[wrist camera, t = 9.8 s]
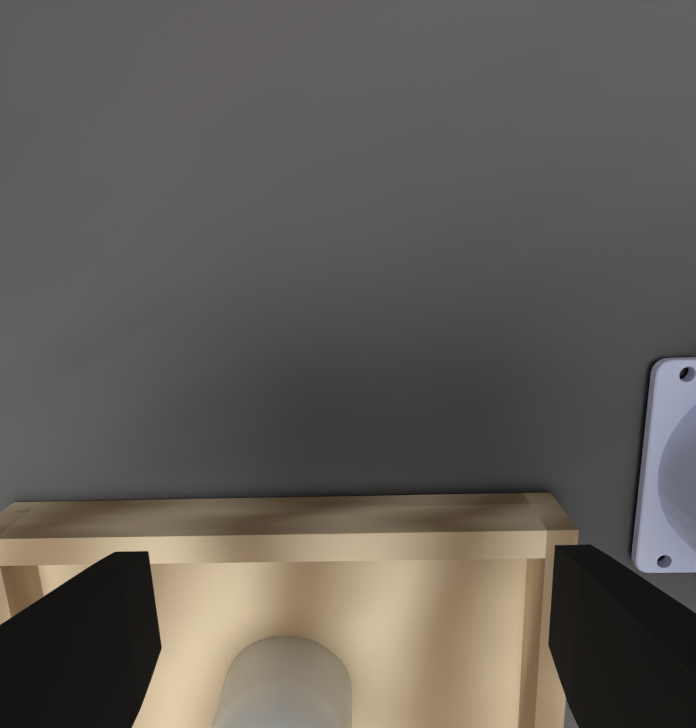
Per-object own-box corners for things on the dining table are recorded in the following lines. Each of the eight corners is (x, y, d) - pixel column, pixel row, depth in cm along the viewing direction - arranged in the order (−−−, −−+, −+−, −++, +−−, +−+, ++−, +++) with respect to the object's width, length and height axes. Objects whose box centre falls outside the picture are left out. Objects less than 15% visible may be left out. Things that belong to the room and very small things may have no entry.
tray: (550, 492, 19) (578, 530, 16) (529, 827, 22) (549, 898, 20) (14, 502, 19) (-36, 539, 17) (80, 825, 23) (46, 894, 21)
